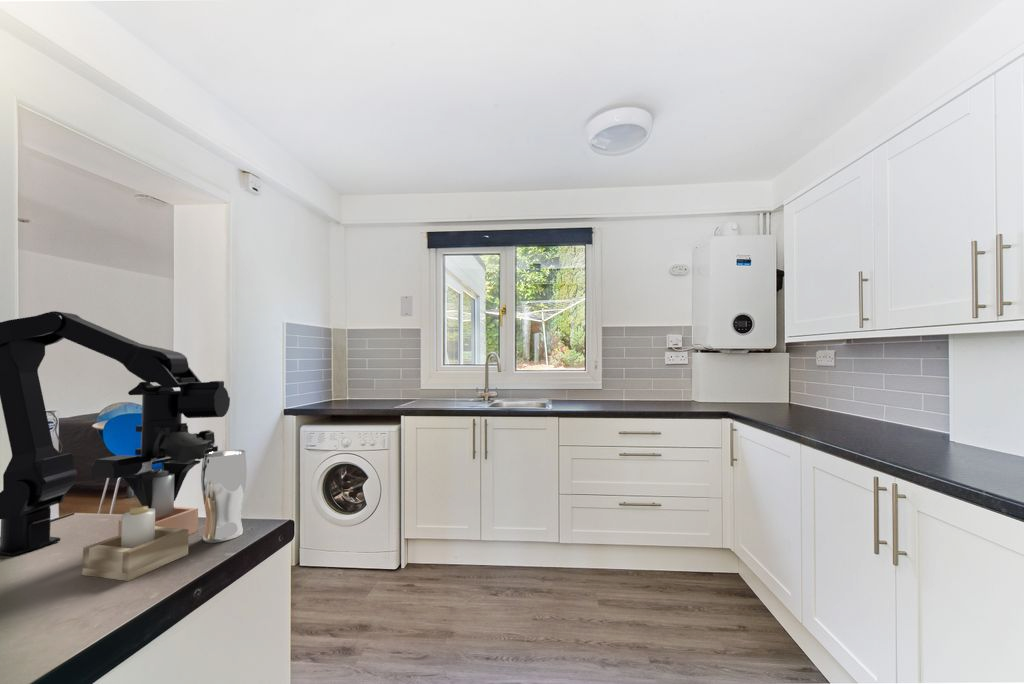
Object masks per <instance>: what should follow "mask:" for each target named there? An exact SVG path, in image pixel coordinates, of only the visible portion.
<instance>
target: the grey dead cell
mask: <svg viewBox="0 0 1024 684" xmlns="http://www.w3.org/2000/svg"><path fill="white" fill-rule="evenodd" d="M157 471H158V470H157ZM174 476H175V474H173V473H168V471H164V470H159V471H158V473H157V474H156V476H155V477H154V478H153V481H152V503H151V508H153V509H155V517H161V516H165V515H169V514H171V513H173V512H174V507H175V506H174V505H175V501H174Z"/></svg>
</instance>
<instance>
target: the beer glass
mask: <svg viewBox="0 0 1024 684" xmlns="http://www.w3.org/2000/svg"><path fill="white" fill-rule="evenodd" d="M246 452H247V451H246V450H245V449H226V450H225V449H224V450H218V451H216V452H210V453H207V454H204V455H203V458H202V464H201V475H200V488H201V496H202V501H203V505H204V511H205V528H204V531H203V535H202V540H203V542H205V543H208V544H209V543H210V544H214V543H221V542H222V543H223V542H226V541H230V540H234V539H236V538H239V537H240V536H241V535H243V532H244V529H243V524H242V517H241V515H242V513H241V512H242V504H243V500H244V496H245V492H246V485H247V474H248V473H247V455H246Z"/></svg>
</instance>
